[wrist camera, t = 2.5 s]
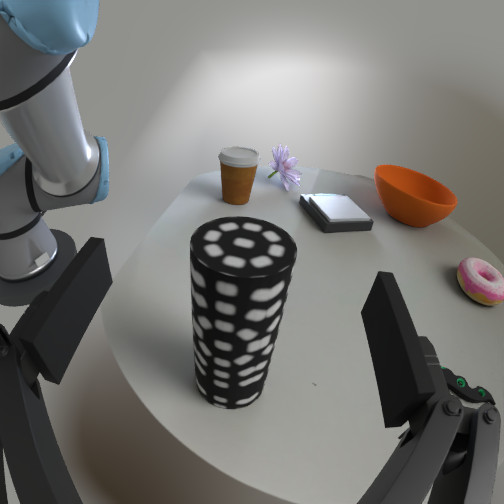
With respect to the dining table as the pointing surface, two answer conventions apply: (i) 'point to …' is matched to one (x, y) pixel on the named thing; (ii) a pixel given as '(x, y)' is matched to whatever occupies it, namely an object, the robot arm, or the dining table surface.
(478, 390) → the knife
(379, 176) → the bowl
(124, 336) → the dining table surface
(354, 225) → the scale
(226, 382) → the white-spotted black cylinder
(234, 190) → the disposable coffee cup
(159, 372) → the dining table surface
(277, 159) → the water lily
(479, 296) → the donut
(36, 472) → the robot arm
